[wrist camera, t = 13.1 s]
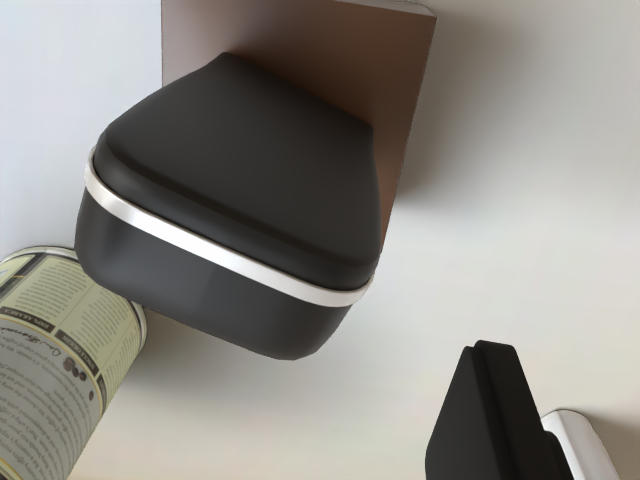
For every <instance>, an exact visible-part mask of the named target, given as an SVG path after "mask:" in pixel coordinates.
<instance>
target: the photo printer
mask: <svg viewBox="0 0 640 480" xmlns="http://www.w3.org/2000/svg"><path fill="white" fill-rule="evenodd" d="M541 422H542V425H543V428H544V430H546V431H551V432H552V433H553V434H554V435H556V436H557V438H558V440H559V442H560V444H561V446H562V448H563V451H564V453H565V456H566V459H567V461H568V464H569V467H570V469H571V472H572V474H573V477H574V480H620V478H619V476H618V474H617V472H616V470H615V468H614V466H613V464H612V462H611V460H610V458H609V456H608V454H607V452H606V449H605V447H604V445H603V443H602V441H601V440H600V438H599V436H598V435H597V433H596V432H594V431H593V429H592V427H591V425H590V423H589V421H588V420H587V419H586V418H585V417H584V416H582V415H580V414H578V413H576V412H572V411H568V410H559V411H554V412H551V413H550V414H548V415H546V416H545V417H543V418H542V419H541Z"/></svg>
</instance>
